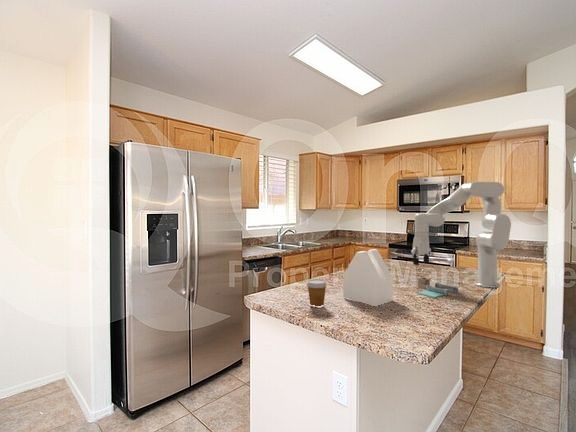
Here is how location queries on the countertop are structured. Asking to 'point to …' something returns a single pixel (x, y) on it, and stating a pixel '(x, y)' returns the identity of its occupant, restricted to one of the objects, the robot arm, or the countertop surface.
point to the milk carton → (368, 279)
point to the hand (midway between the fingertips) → (421, 264)
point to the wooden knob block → (423, 282)
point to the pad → (430, 294)
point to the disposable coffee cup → (316, 291)
